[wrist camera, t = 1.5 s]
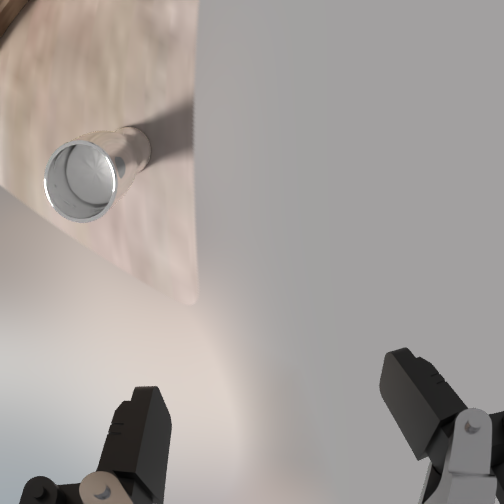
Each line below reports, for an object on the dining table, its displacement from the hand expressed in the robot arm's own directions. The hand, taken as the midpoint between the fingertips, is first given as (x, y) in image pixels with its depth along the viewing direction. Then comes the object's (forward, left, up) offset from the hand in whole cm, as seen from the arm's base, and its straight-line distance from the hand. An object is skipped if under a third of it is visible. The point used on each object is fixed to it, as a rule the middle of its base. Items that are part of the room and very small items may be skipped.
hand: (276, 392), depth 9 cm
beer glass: (-6, -11, -30) cm, 33 cm away
